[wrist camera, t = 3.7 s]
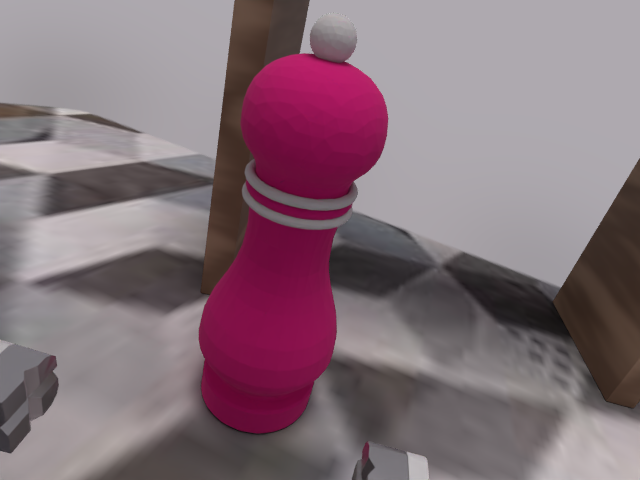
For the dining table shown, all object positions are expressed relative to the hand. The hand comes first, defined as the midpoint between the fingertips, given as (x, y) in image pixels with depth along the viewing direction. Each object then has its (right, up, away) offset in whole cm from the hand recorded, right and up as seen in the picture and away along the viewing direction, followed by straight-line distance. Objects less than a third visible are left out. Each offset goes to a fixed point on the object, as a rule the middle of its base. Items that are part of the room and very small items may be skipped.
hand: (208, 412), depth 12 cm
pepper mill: (-1, -4, +15) cm, 16 cm away
